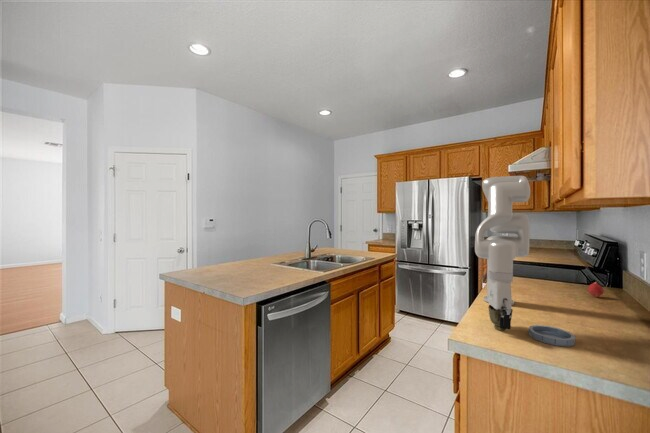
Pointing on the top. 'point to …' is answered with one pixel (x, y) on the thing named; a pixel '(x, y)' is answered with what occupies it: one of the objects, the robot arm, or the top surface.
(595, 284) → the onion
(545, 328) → the dish
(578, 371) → the top surface
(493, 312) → the cup
